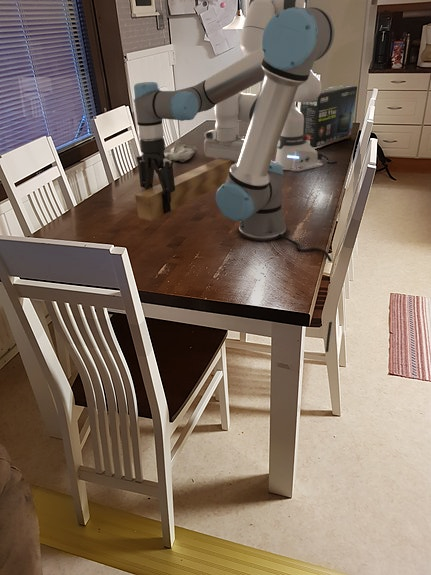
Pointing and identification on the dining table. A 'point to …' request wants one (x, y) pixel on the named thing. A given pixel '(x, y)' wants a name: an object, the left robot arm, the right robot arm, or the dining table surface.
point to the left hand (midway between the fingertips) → (160, 210)
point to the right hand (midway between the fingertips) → (228, 170)
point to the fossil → (180, 152)
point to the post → (184, 188)
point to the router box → (329, 114)
